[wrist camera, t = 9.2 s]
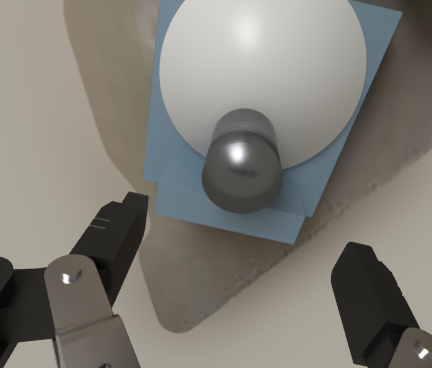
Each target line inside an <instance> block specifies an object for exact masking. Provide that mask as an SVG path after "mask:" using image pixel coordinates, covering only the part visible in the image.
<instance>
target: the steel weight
mask: <svg viewBox="0 0 432 368" xmlns="http://www.w3.org/2000/svg"><path fill="white" fill-rule="evenodd" d="M282 185H283V173H282V168H281V162H280V157H279V151H278V146H277V141H276V135H275V130H274V127H273V125H272V123H271V122H270V120H269V119H268V118H267V117H266V116H265V115H263V114H262V113H260V112H258V111H256V110H253V109H248V108H242V109H236V110H233V111H230V112H228V113H227V114H225V115H224V116H223V117H222V118H220V120H219V121H218V122H217V124H216V126H215V128H214V132H213V135H212V139H211V142H210V146H209V149H208V153H207V156H206V160H205V164H204V167H203V171H202V186H203V189H204V191H205V193H206V195H207V197H208V198H209V199H210V200H211V201H212V202H213V203H214V204H215V205H216V206H218V207H219V208H221V209H223V210H225V211H228V212H231V213H236V214H249V213H254V212H258V211H260V210H263V209H264V208H266V207H268V206H269V205H270V204H272V203H273V202H274V201H275V199H276V198H277V197H278V195H279V193H280V191H281V189H282Z"/></svg>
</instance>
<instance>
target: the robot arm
mask: <svg viewBox="0 0 432 368" xmlns="http://www.w3.org/2000/svg"><path fill="white" fill-rule="evenodd" d="M147 208H148V196H147V195H143V194H138V193H134V192H128V194H127V195H126V197H125V199H124V200H123V202H122V203H119V202H114V201H112V202H110V203H108V204H107V205H105V206H103V207H102V208H101V209H100V211H99V212H98V213H97V215H96V216H95V219H93V221H92V222H91V224H90V226H88V228H87V229H86V231H85V232H84V233H83V235H82V236H81V238H80V239H79V241H78V242H77V244H76V245H75V246H74V248H73V249H72V251H71V252H70V254H69V255H66V256H62V257H60V258H57V259H56V260H54V261H53V262H51V263H50V264H49V265H48V267H45V268H37V269H13V265H12V263H11V262H10V261H9V260H7V259H5V258H3V257H0V368H3V367H4V366H5V364H6V362H7V360H8V359H9V357H10V355H11V354H12V352H13V350H14V348H15V347H16V345H17V344H18V342H25V341H35V340H44V339H52V345H53V350H54V355H55V360H56V365H57V368H141V367H140V365H139V362H138V360H137V357H136V354H135V352H134V349H133V347H132V344H131V341H130V339H129V336H128V334H127V331H126V329H125V326H124V323H123V321H122V319H121V317H120V316H119V315H118V314H116V315H114V313H113V311H112V307H113V304H114V302H115V300H116V298H117V295H118V293H119V291H120V289H121V286H122V284H123V282H124V280H125V277H126V275H127V273H128V271H129V268H130V266H131V264H132V261H133V259H134V257H135V255H136V253H137V250H138V248H139V246H140V244H141V241H142V238H143V235H144V231H145V225H146V217H147ZM331 284H332V288H333V292H334V295H335V299H336V303H337V306H338V310H339V313H340V317H341V320H342V324H343V327H344V331H345V335H346V338H347V342H348V345H349V349H350V353H351V356H352V359H353V363H354V364H357V365H362V366H367V367H368V368H432V335H431V334H429V333H427V332H426V331H424V330H421V329H420V327H419V325H418V323H417V321H416V319H415V317H414V316H413V313H412V311H411V309H410V307H409V306H408V304H407V302H406V300H405V298H404V297H403V296H402V292H401V290H400V288H399V287H398V286H397V285H398V284H397V282H396V280H395V278H394V276H393V274H392V272H391V271H390V270H389V269H388V268H387V267H386V266H385V265H384V264H383V263H382V262H381V261H378V259H377V257H376V255H375V253H374V251H373V249H372V247H371V246H368V245H364V244H359V243H355V242H349V243H348V244H347V245H346V247H345V248H344V250H343V252H342V254H341V255H340V257H339V259H338V261H337V262H336V264H335V266H334V268H333V271H332V274H331Z"/></svg>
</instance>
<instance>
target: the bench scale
mask: <svg viewBox="0 0 432 368" xmlns="http://www.w3.org/2000/svg"><path fill="white" fill-rule="evenodd" d="M402 13H403V12H400V11H396V10H391V9H387V8H383V7H379V6H375V5H370V4H366V3H362V2H358V1H353V0H160V6H159V17H158V27H157V38H156V48H155V58H154V69H153V79H152V89H151V100H150V110H149V121H148V131H147V141H146V152H145V162H144V173H143V180H146V181H150V182H155V183H158V188H157V196H156V204H155V212H154V214H156V215H161V216H165V217H170V218H174V219H179V220H183V221H188V222H192V223H197V224H202V225H206V226H211V227H215V228H220V229H221V230H229V231H233V232H238V233H242V234H247V235H251V236H256V237H261V238H265V239H270V240H274V241H279V242H283V243H288V244H292V245H294V242H295V240H296V238H297V235H298V233H299V231H300V228H301V226H302V224H303V222H304V219H305V216H308V217H312V215H313V213H314V211H315V209H316V206H317V204H318V202H319V200H320V198H321V195H322V193H323V191H324V189H325V186H326V184H327V182H328V180H329V177H330V175H331V173H332V171H333V168H334V166H335V164H336V162H337V159H338V157H339V155H340V153H341V150H342V148H343V146H344V144H345V141H346V139H347V137H348V135H349V132H350V130H351V128H352V126H353V123H354V121H355V119H356V117H357V114H358V112H359V110H360V108H361V105H362V103H363V101H364V99H365V96H366V94H367V92H368V90H369V87H370V85H371V83H372V81H373V78H374V76H375V74H376V72H377V69H378V67H379V65H380V63H381V61H382V58H383V56H384V54H385V52H386V49H387V47H388V45H389V43H390V40H391V38H392V36H393V34H394V31H395V29H396V27H397V25H398V22H399V20H400V18H401V16H402ZM242 108H248V109H253V110H256V111H258V112H260V113H262V114H263V115H265V116H266V117H267V118H268V119H269V120H270V122H271V123H272V125H273V127H274V130H275V135H276V141H277V146H278V151H279V157H280V162H281V168H282V173H283V185H282V189H281V191H280V193H279V195H278V197H277V198H276V199H275V201H274V202H273V203H272V204H270V205H269V206H268V207H266V208H264V209H263V210H260V211H258V212H254V213H249V214H236V213H231V212H228V211H225V210H223V209H221V208H219V207H218V206H216V205H215V204H214V203H213V202H212V201H211V200H210V199H209V198H208V197H207V195H206V193H205V191H204V189H203V186H202V171H203V167H204V164H205V160H206V156H207V153H208V149H209V146H210V142H211V139H212V135H213V132H214V128H215V126H216V124H217V122H218V121H219V120H220V118H222V117H223V116H224V115H225V114H227V113H228V112H230V111H233V110H236V109H242Z"/></svg>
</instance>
